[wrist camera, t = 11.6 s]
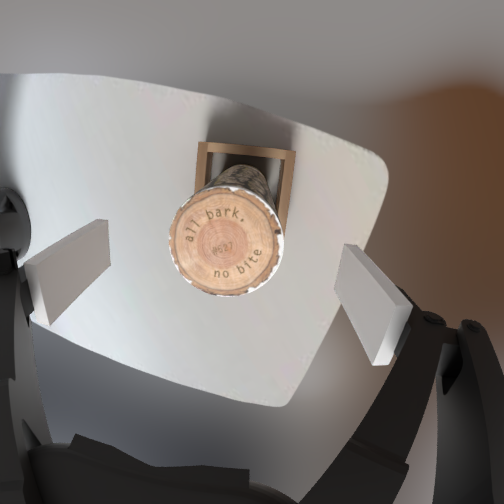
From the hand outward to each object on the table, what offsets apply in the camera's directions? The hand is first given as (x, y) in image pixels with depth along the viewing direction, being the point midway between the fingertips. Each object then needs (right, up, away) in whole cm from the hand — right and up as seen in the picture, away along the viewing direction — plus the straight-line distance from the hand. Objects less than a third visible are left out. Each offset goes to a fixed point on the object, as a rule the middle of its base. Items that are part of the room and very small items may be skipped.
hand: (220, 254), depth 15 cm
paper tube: (0, +9, +25) cm, 27 cm away
